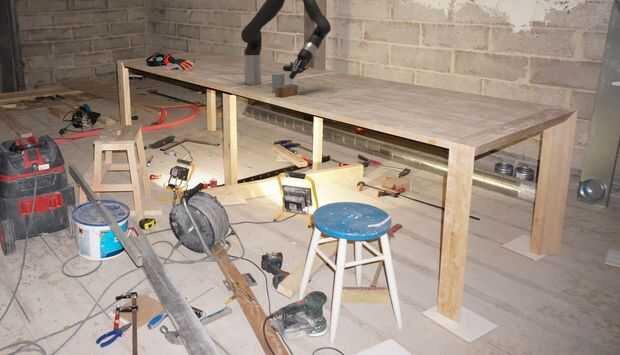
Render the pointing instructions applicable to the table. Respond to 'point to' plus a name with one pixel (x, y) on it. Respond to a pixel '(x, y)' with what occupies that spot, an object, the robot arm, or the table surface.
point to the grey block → (278, 80)
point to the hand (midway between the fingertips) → (290, 78)
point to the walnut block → (286, 90)
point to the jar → (287, 79)
